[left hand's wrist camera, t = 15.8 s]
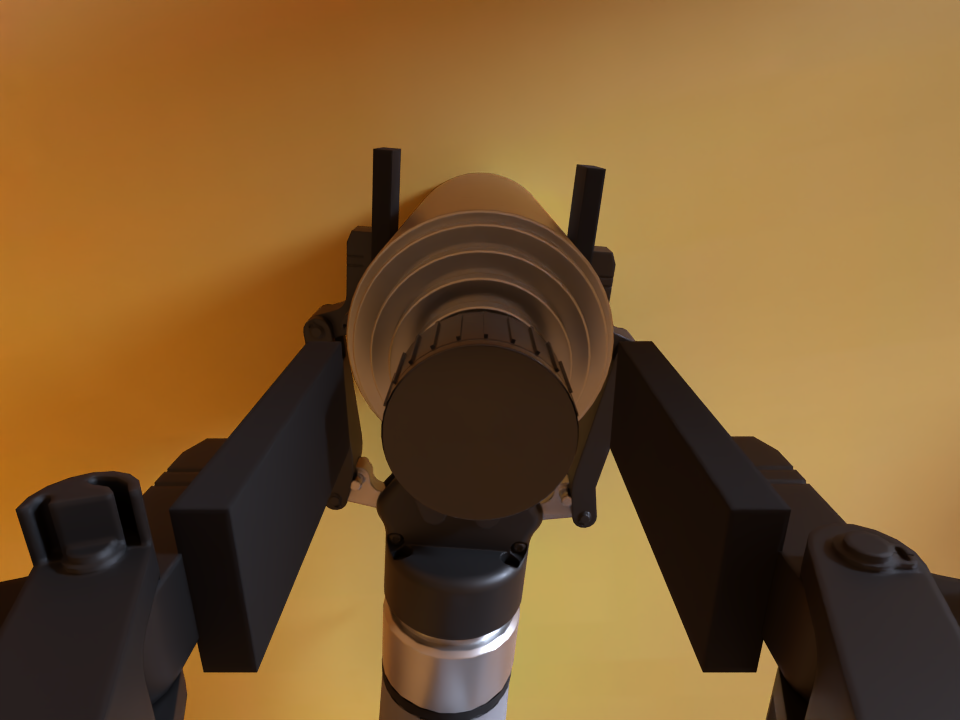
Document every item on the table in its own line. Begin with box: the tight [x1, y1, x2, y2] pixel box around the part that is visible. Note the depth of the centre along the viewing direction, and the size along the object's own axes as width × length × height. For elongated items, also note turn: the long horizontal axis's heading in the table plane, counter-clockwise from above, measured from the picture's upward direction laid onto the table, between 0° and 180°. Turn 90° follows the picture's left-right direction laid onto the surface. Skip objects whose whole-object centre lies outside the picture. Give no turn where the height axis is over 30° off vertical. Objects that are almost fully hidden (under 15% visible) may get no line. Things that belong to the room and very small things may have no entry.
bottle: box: [347, 173, 614, 421], centre depth 23 cm, size 8×8×21 cm
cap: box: [381, 311, 579, 520], centre depth 13 cm, size 4×4×2 cm
